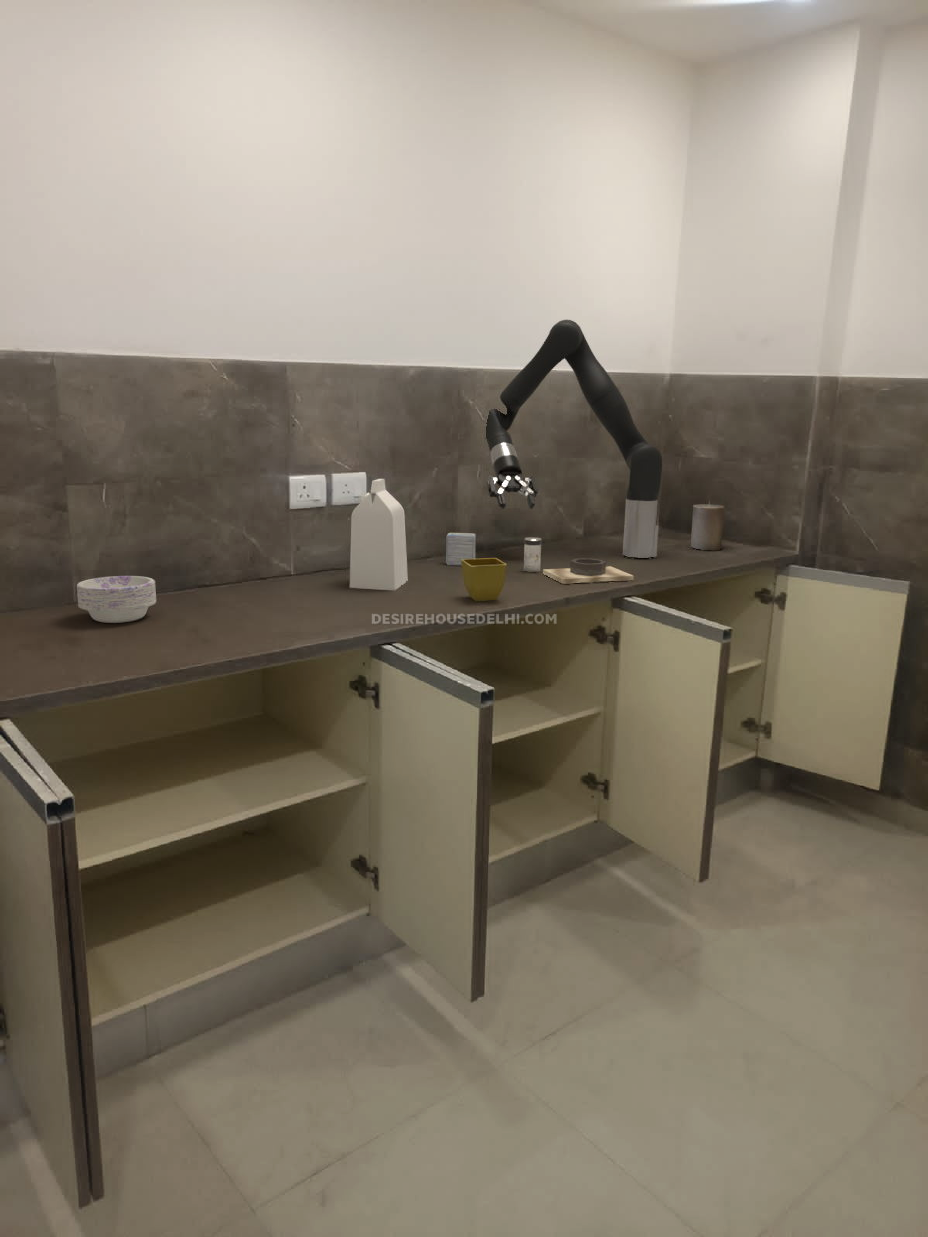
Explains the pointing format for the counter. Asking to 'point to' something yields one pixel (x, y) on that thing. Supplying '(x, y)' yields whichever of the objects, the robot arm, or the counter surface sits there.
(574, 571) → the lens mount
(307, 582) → the counter surface
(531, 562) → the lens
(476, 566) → the flower pot
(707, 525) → the pillar candle
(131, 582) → the paper bowls
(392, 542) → the milk
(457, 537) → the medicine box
